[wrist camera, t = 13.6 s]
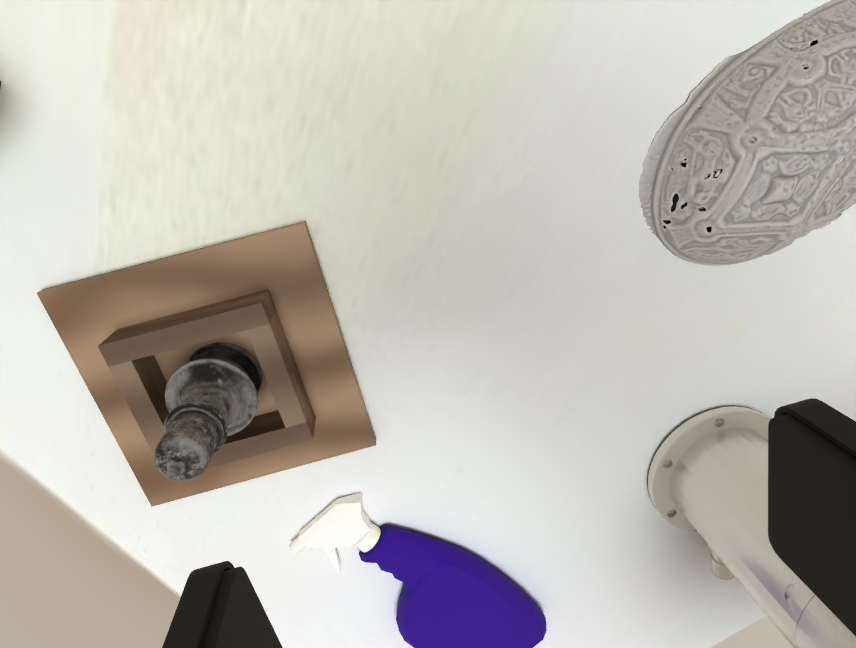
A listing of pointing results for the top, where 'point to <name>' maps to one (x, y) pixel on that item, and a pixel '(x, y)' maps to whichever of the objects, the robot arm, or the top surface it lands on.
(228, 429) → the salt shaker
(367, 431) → the walnut holder
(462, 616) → the spray bottle
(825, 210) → the carved oval dish
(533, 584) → the top surface
